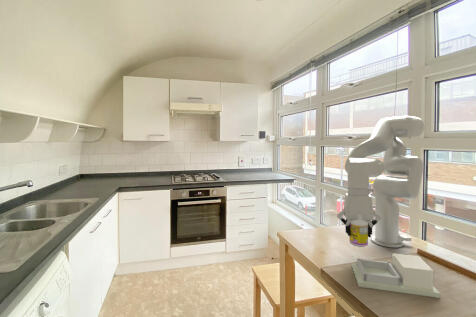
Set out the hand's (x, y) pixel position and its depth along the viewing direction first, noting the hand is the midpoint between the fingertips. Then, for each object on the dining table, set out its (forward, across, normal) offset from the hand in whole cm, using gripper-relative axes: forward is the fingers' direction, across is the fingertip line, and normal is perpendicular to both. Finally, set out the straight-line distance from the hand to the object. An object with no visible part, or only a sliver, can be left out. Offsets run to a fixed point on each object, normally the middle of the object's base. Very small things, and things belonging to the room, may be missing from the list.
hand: (358, 234), depth 93 cm
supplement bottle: (+4, 0, 0) cm, 4 cm away
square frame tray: (+10, -7, +13) cm, 18 cm away
